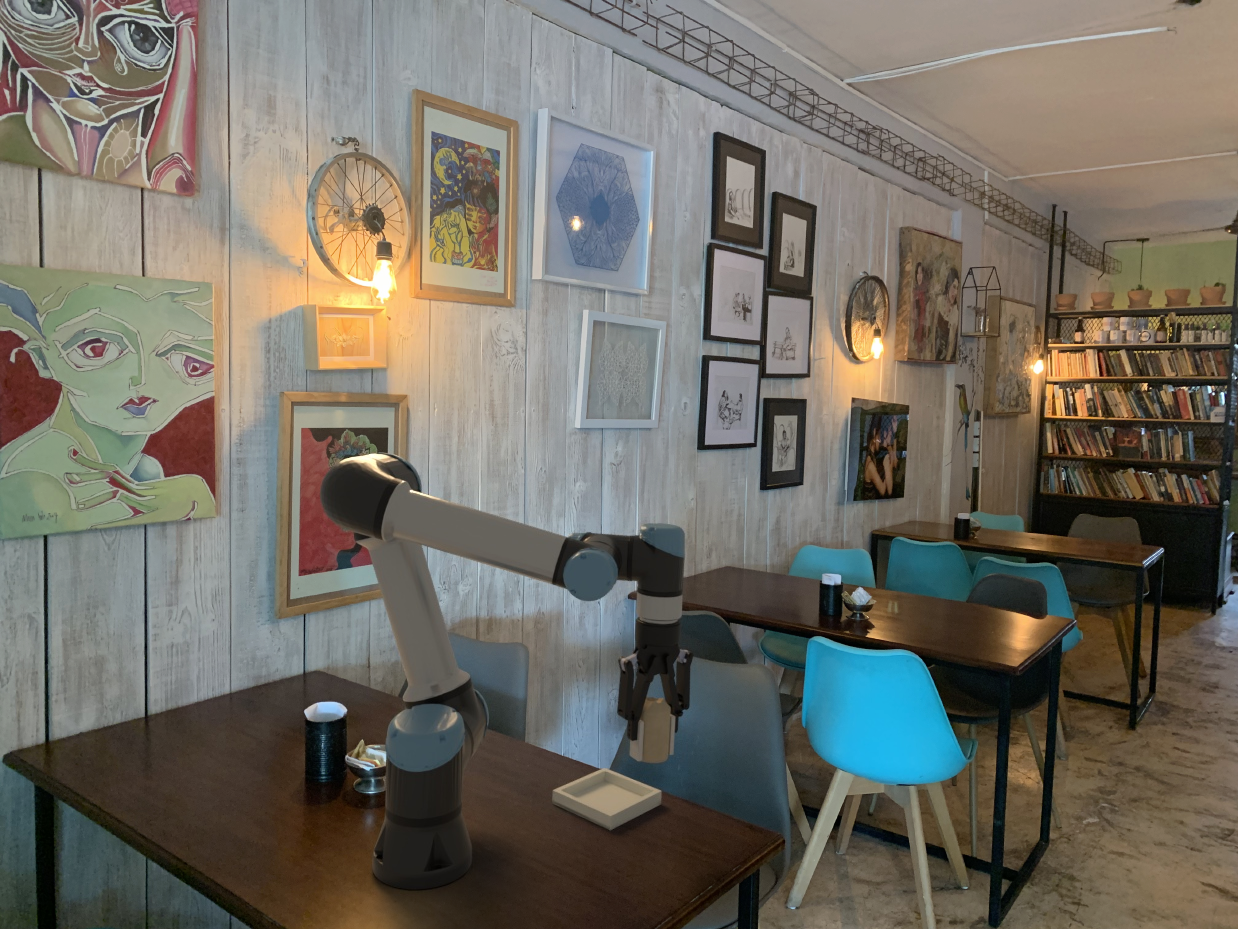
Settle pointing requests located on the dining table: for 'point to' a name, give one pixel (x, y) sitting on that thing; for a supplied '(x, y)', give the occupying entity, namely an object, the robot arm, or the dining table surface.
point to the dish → (607, 798)
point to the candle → (655, 730)
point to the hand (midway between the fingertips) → (651, 754)
